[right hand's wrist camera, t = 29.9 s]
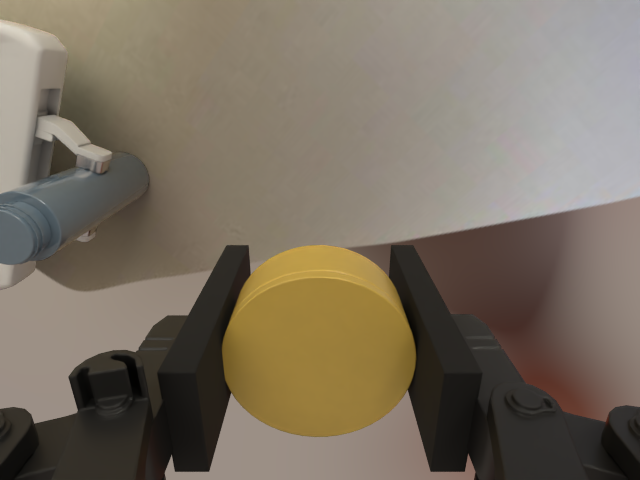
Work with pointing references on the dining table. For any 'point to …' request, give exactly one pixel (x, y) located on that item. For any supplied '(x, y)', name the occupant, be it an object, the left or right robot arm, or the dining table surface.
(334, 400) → the lid
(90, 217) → the blue tall cylinder
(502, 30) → the dining table surface
